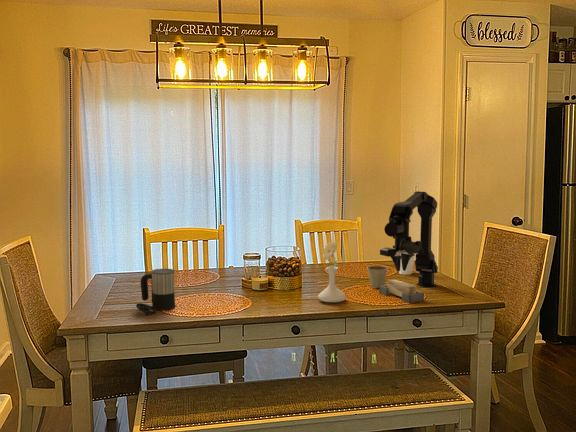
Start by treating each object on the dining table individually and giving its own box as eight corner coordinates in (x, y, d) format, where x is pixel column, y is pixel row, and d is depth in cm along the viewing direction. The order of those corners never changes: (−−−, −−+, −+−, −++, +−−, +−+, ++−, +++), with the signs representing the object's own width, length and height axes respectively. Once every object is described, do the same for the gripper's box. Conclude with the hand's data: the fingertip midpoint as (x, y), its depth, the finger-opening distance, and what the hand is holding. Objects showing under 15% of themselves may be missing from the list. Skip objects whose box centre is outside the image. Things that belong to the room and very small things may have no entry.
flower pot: (387, 289, 249) (387, 270, 248) (366, 288, 251) (366, 269, 250) (388, 284, 258) (388, 266, 257) (367, 283, 260) (367, 265, 259)
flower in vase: (316, 298, 235) (316, 238, 232) (343, 297, 235) (343, 238, 233) (320, 306, 222) (320, 243, 219) (348, 305, 222) (349, 243, 220)
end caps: (393, 291, 246) (393, 283, 245) (423, 300, 229) (423, 293, 229) (379, 293, 242) (379, 285, 242) (409, 303, 225) (409, 295, 225)
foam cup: (392, 273, 284) (392, 247, 282) (404, 270, 289) (405, 245, 288) (406, 276, 276) (406, 249, 275) (419, 273, 281) (419, 247, 280)
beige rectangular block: (394, 291, 242) (394, 279, 242) (416, 298, 230) (416, 286, 230) (387, 292, 241) (387, 280, 240) (408, 299, 228) (408, 287, 228)
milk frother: (177, 304, 227) (176, 267, 225) (173, 315, 211) (171, 276, 210) (141, 305, 226) (139, 268, 224) (134, 316, 210) (132, 277, 208)
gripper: (396, 237, 221) (396, 277, 223) (432, 234, 230) (432, 272, 232) (379, 234, 231) (378, 272, 233) (414, 231, 240) (413, 267, 241)
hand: (401, 271), depth 234 cm, fingers open, 3 cm apart
